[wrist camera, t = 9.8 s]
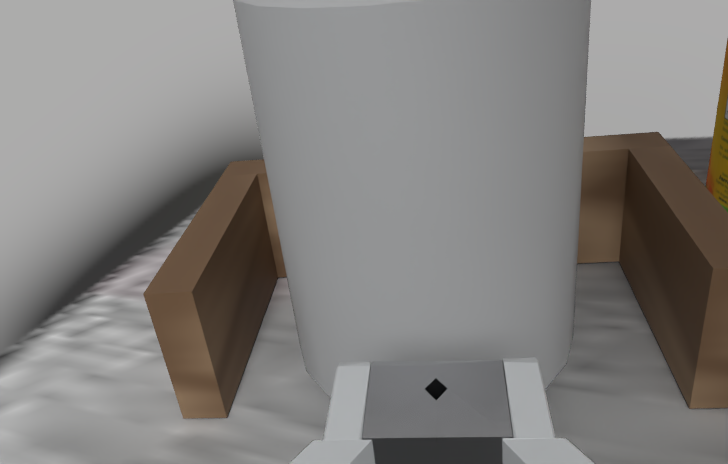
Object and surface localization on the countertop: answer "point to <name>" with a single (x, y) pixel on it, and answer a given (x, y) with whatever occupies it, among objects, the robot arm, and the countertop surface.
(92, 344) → the countertop surface
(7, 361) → the countertop surface
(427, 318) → the can
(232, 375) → the corral
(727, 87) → the supplement bottle
